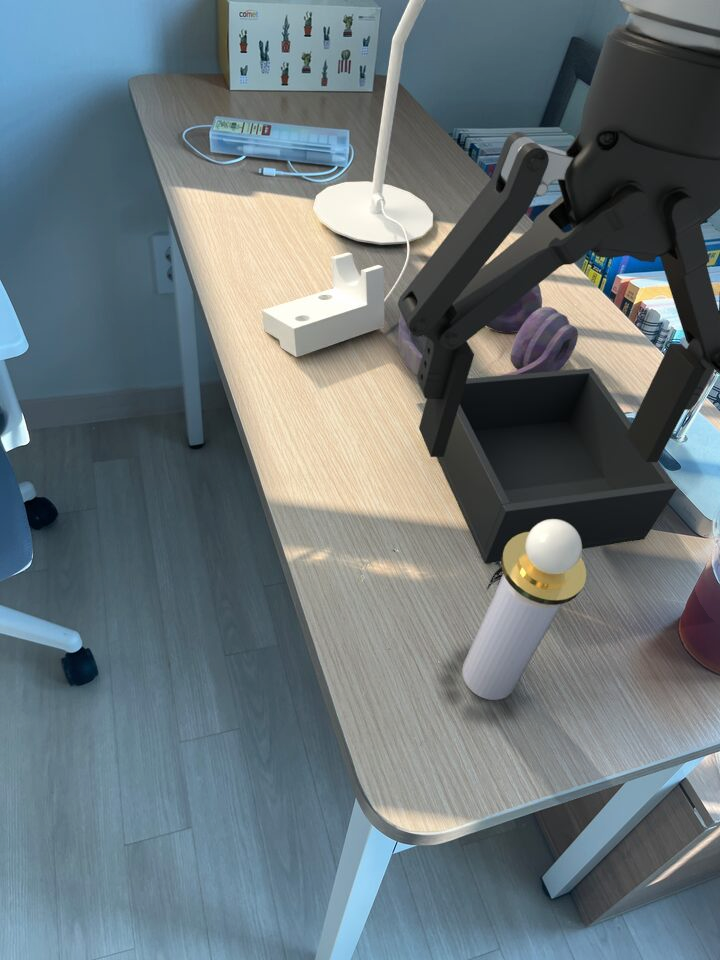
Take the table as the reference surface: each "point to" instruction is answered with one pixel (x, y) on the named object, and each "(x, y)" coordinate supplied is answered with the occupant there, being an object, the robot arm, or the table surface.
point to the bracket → (330, 310)
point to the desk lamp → (379, 178)
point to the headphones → (519, 336)
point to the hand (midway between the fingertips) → (539, 446)
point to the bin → (549, 461)
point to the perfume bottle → (524, 605)
